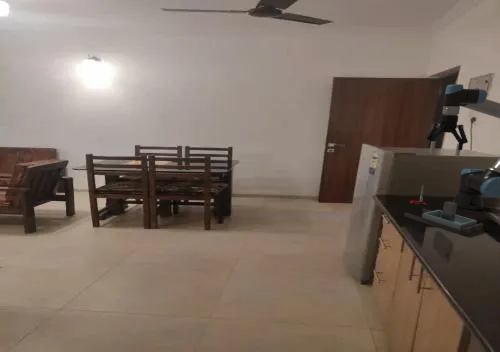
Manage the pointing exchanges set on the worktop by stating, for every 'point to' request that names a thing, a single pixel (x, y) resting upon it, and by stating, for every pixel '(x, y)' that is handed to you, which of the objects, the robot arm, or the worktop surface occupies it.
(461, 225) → the crate
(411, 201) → the tow hook
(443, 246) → the worktop surface
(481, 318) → the worktop surface
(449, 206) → the dark grey block
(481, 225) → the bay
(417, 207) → the worktop surface
